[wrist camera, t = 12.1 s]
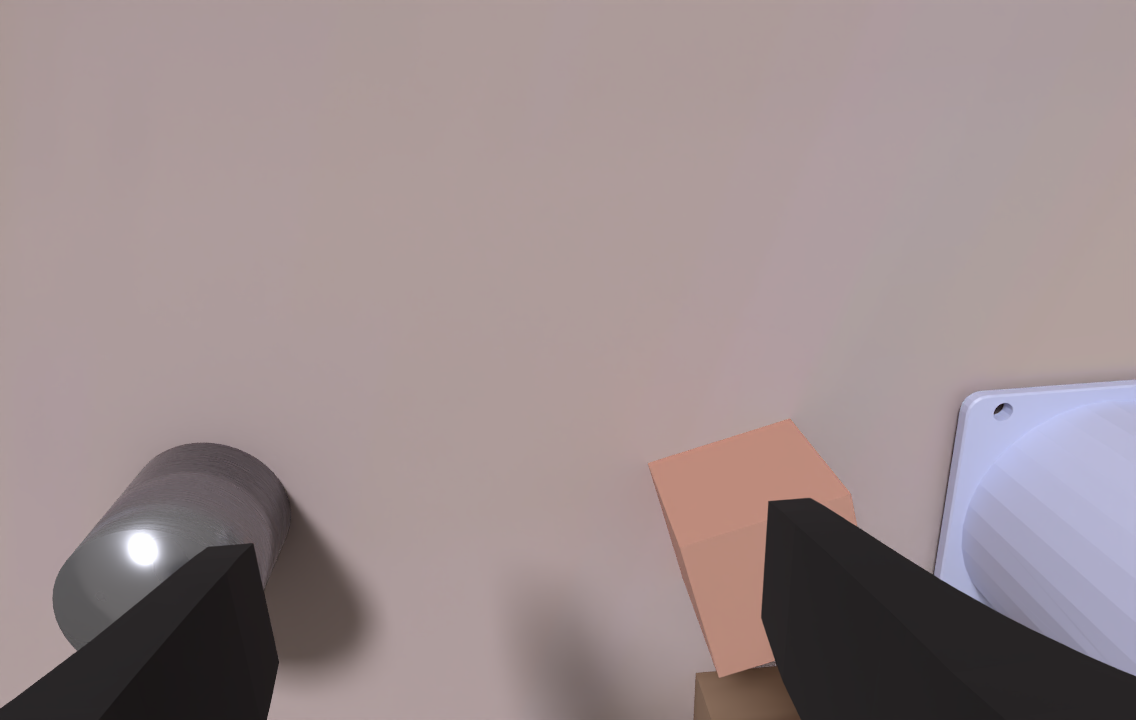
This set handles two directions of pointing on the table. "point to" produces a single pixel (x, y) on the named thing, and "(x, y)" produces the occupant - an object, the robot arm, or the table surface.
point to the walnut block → (743, 696)
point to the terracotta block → (737, 527)
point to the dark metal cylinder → (169, 532)
